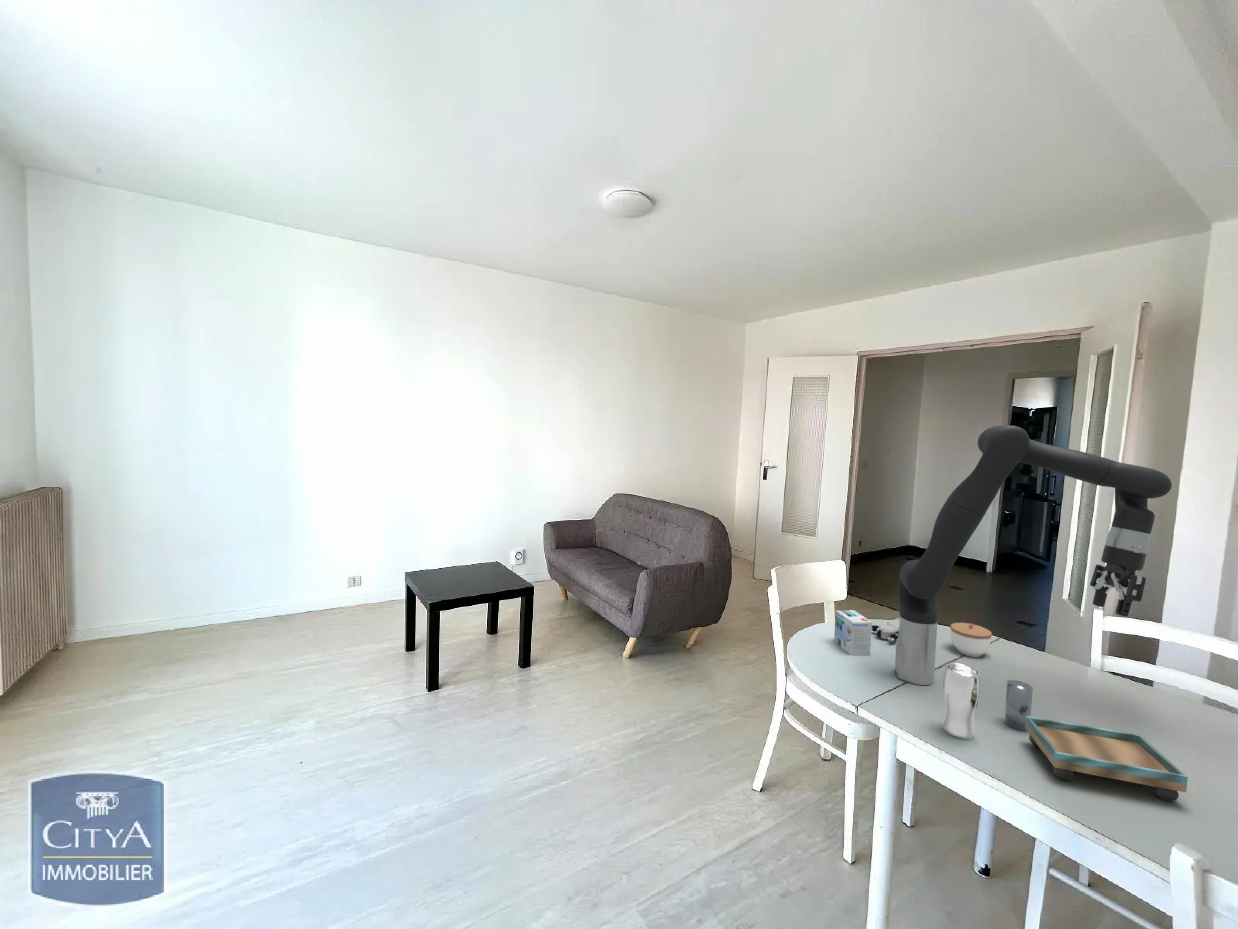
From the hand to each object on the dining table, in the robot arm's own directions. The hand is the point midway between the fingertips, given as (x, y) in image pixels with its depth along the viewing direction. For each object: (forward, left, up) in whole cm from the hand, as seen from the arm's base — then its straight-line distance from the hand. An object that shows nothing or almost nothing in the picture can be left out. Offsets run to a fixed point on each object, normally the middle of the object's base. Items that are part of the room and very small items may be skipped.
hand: (1109, 610), depth 127 cm
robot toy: (-41, +31, -26) cm, 58 cm away
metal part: (-23, -17, -26) cm, 39 cm away
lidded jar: (-21, +26, -26) cm, 43 cm away
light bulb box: (-56, +16, -26) cm, 64 cm away
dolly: (-14, -31, -26) cm, 42 cm away
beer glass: (-37, -25, -26) cm, 52 cm away
